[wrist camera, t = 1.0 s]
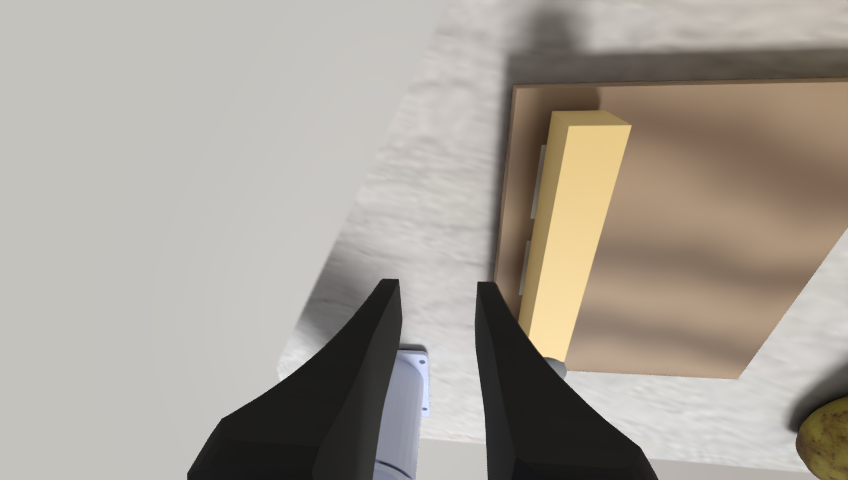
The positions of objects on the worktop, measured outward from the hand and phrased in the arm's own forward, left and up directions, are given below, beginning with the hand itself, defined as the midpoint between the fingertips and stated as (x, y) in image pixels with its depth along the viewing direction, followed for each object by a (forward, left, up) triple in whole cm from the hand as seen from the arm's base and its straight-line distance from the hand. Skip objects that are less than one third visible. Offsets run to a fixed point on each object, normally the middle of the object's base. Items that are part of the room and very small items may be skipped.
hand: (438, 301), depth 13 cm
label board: (-4, -13, -10) cm, 17 cm away
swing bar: (-4, -6, -8) cm, 11 cm away
